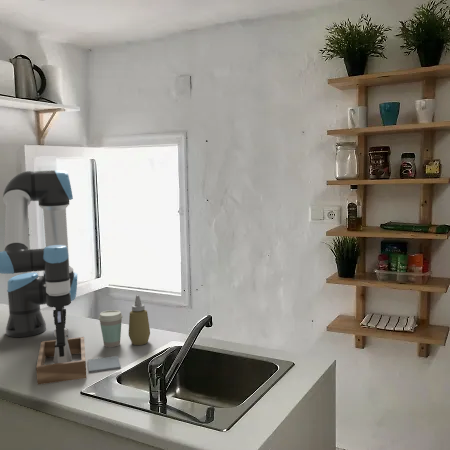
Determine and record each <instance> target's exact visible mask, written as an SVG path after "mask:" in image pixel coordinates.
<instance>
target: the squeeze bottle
mask: <svg viewBox="0 0 450 450" xmlns="http://www.w3.org/2000/svg"><path fill="white" fill-rule="evenodd" d="M149 322H150V321H149V315H148V311H147V310H146V309H145V304H144V303H142V300H141V297H140V295H139V294H138V295H136V296H135V300H134V304H132V305H131V311H130V312H129V321H128V338H129V340H130V342H131V344H132V345H134V346H143V345H146V344H148V342H149V339H150V336H151V328H150V323H149Z"/></svg>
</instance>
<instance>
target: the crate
mask: <svg viewBox="0 0 450 450" xmlns="http://www.w3.org/2000/svg"><path fill="white" fill-rule="evenodd" d="M67 341H68V345H69V349H70V353H71V355H78V354H79V355H81V360H79V359H78V360H75V361H74V360H72V361H71V362H64V363H56V364H54V363H50V364H46V358H51V357H53V358H54V353H55V345H56V339H51V340H44V341H41V342H40V346H39V351H38V357H37V363H36V368H35V370H36V379H37V385H46V384H53V383H59V382H67V381H74V380H83V379H87V377H88V376H87V362H86V361H87V360H86V346H85V345H86V344H85V336H80V337H79V336H78V337H70V338H68V337H67Z"/></svg>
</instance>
